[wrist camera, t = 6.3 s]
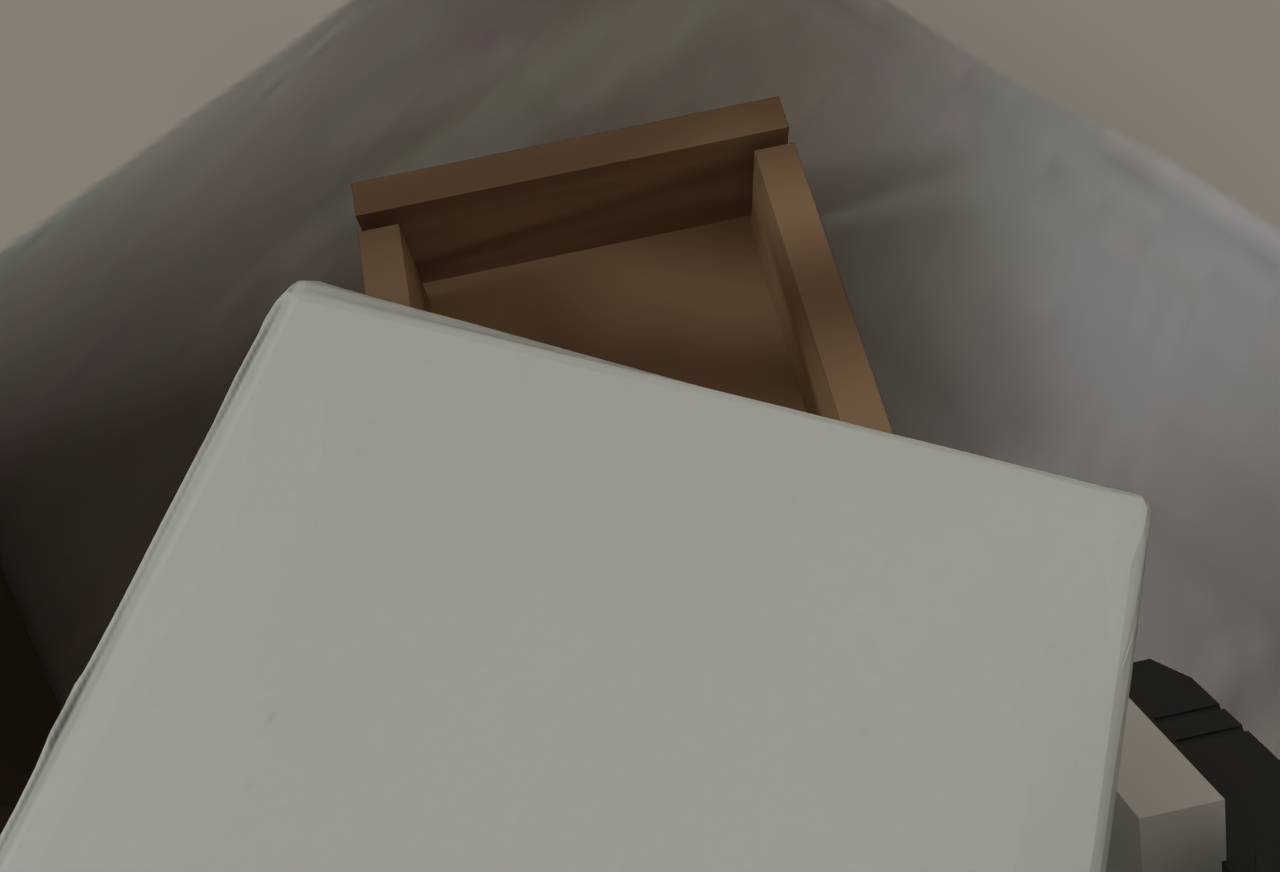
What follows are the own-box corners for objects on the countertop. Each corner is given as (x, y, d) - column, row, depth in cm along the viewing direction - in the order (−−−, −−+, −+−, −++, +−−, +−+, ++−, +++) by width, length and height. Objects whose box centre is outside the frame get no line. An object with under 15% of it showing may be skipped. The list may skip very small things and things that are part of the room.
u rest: (884, 552, 35) (910, 483, 30) (444, 648, 34) (402, 593, 30) (771, 198, 40) (778, 96, 36) (392, 277, 40) (351, 183, 35)
